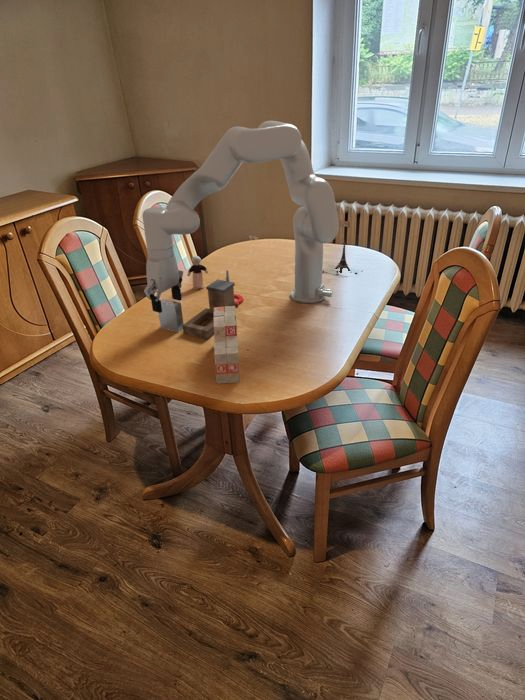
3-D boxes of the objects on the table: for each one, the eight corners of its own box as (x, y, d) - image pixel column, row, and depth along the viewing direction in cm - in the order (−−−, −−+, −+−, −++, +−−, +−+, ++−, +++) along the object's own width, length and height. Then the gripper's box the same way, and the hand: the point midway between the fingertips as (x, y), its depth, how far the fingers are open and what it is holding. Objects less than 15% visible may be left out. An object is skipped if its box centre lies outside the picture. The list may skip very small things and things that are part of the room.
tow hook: (222, 296, 167) (216, 306, 159) (220, 262, 161) (214, 270, 153) (245, 297, 166) (240, 307, 158) (244, 263, 160) (239, 271, 152)
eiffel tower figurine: (319, 273, 183) (320, 241, 176) (328, 265, 191) (330, 233, 184) (355, 279, 177) (358, 246, 170) (363, 270, 185) (366, 238, 178)
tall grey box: (166, 323, 149) (162, 298, 144) (184, 328, 146) (180, 302, 141) (160, 327, 147) (156, 302, 142) (178, 332, 144) (174, 306, 139)
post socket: (239, 313, 154) (237, 283, 148) (207, 339, 139) (204, 307, 134) (216, 308, 157) (214, 278, 152) (183, 333, 143) (179, 301, 137)
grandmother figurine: (191, 291, 170) (187, 259, 163) (188, 288, 173) (184, 256, 166) (210, 287, 173) (207, 255, 166) (207, 284, 176) (204, 252, 169)
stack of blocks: (240, 383, 120) (237, 342, 114) (216, 384, 120) (212, 344, 113) (237, 341, 138) (235, 305, 132) (216, 343, 138) (213, 306, 131)
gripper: (168, 242, 141) (174, 293, 150) (130, 259, 128) (139, 314, 137) (188, 245, 138) (193, 297, 147) (151, 263, 125) (159, 319, 134)
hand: (167, 305), depth 142 cm, fingers open, 9 cm apart
